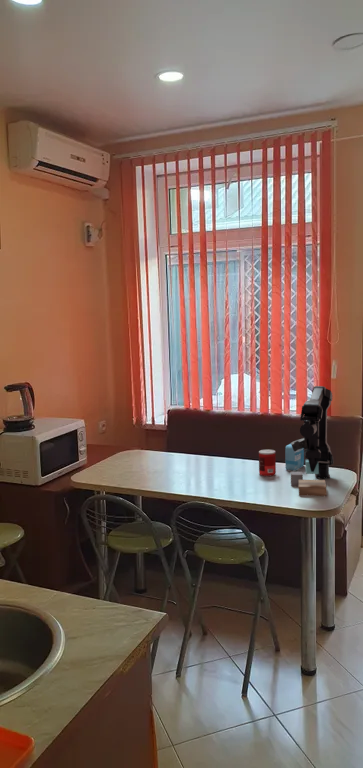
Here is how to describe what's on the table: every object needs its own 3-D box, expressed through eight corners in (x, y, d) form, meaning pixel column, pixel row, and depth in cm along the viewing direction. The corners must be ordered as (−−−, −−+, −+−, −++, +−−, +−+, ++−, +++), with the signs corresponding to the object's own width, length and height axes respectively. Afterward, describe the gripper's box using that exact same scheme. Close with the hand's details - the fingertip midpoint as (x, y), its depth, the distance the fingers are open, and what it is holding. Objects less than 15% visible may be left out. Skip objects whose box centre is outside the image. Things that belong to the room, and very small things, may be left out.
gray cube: (290, 482, 258) (290, 471, 258) (302, 482, 258) (302, 471, 257) (291, 485, 253) (291, 474, 253) (302, 486, 253) (302, 474, 252)
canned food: (278, 473, 275) (278, 450, 273) (271, 477, 268) (271, 453, 267) (263, 471, 279) (263, 448, 278) (256, 475, 272) (256, 452, 271)
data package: (294, 471, 277) (293, 446, 275) (285, 470, 279) (285, 445, 278) (304, 466, 287) (304, 442, 285) (295, 465, 289) (295, 441, 288)
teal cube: (305, 470, 246) (305, 459, 245) (317, 470, 245) (317, 459, 244) (306, 473, 241) (306, 462, 240) (318, 474, 240) (318, 462, 239)
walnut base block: (298, 488, 250) (298, 479, 250) (324, 489, 248) (324, 480, 248) (298, 496, 239) (298, 486, 239) (326, 497, 237) (326, 487, 237)
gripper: (291, 428, 252) (291, 464, 253) (292, 437, 233) (293, 475, 235) (317, 428, 250) (318, 464, 251) (321, 437, 231) (321, 476, 233)
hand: (312, 469), depth 243 cm, fingers closed on teal cube, 5 cm apart
